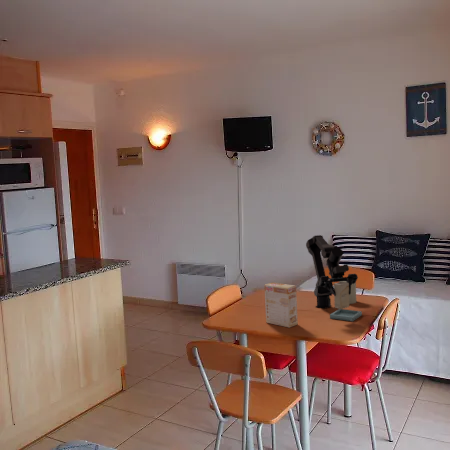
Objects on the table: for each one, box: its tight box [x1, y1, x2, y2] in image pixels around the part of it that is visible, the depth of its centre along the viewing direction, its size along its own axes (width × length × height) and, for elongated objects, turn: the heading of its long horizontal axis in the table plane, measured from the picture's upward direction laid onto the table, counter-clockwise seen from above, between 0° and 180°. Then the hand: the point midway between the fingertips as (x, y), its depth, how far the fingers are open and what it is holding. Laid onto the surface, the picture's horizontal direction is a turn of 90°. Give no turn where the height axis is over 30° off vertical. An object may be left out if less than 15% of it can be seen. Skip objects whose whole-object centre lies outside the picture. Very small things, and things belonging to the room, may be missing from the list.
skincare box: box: [333, 282, 350, 310], centre depth 251 cm, size 6×4×12 cm
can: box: [341, 281, 358, 305], centre depth 287 cm, size 9×9×12 cm
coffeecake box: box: [264, 282, 298, 328], centre depth 253 cm, size 15×7×20 cm, turn 44°
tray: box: [329, 308, 363, 322], centre depth 259 cm, size 12×12×2 cm
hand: (342, 294), depth 250 cm, fingers closed on skincare box, 7 cm apart
